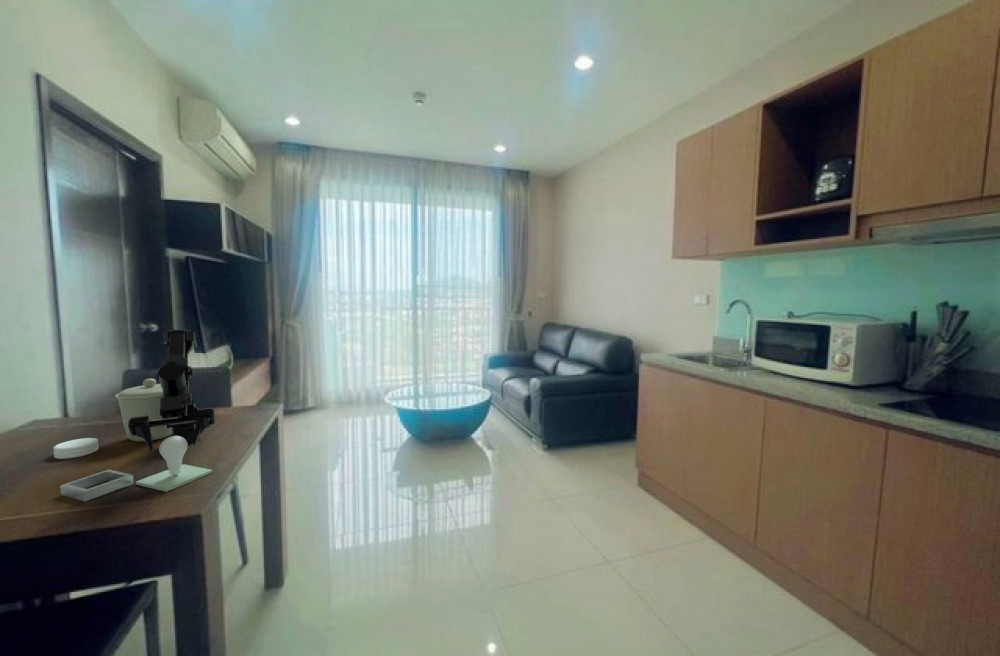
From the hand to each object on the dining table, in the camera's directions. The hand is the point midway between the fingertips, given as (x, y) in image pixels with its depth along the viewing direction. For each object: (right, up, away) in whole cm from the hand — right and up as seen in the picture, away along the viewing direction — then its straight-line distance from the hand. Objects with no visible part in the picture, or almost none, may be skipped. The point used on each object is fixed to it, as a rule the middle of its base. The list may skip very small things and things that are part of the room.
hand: (173, 448), depth 111 cm
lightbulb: (-1, -8, +2) cm, 8 cm away
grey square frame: (-16, -9, -5) cm, 19 cm away
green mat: (-1, -9, +2) cm, 9 cm away
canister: (-35, -6, +34) cm, 49 cm away
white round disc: (-46, -8, +19) cm, 51 cm away
